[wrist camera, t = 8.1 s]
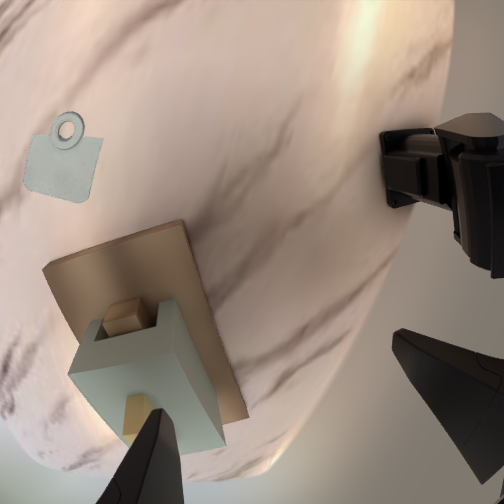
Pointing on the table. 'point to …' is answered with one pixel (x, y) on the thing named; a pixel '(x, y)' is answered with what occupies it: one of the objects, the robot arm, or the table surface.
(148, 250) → the cleat board
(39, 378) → the table surface
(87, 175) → the mounting bracket
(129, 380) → the cabinet block
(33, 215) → the table surface
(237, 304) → the table surface
